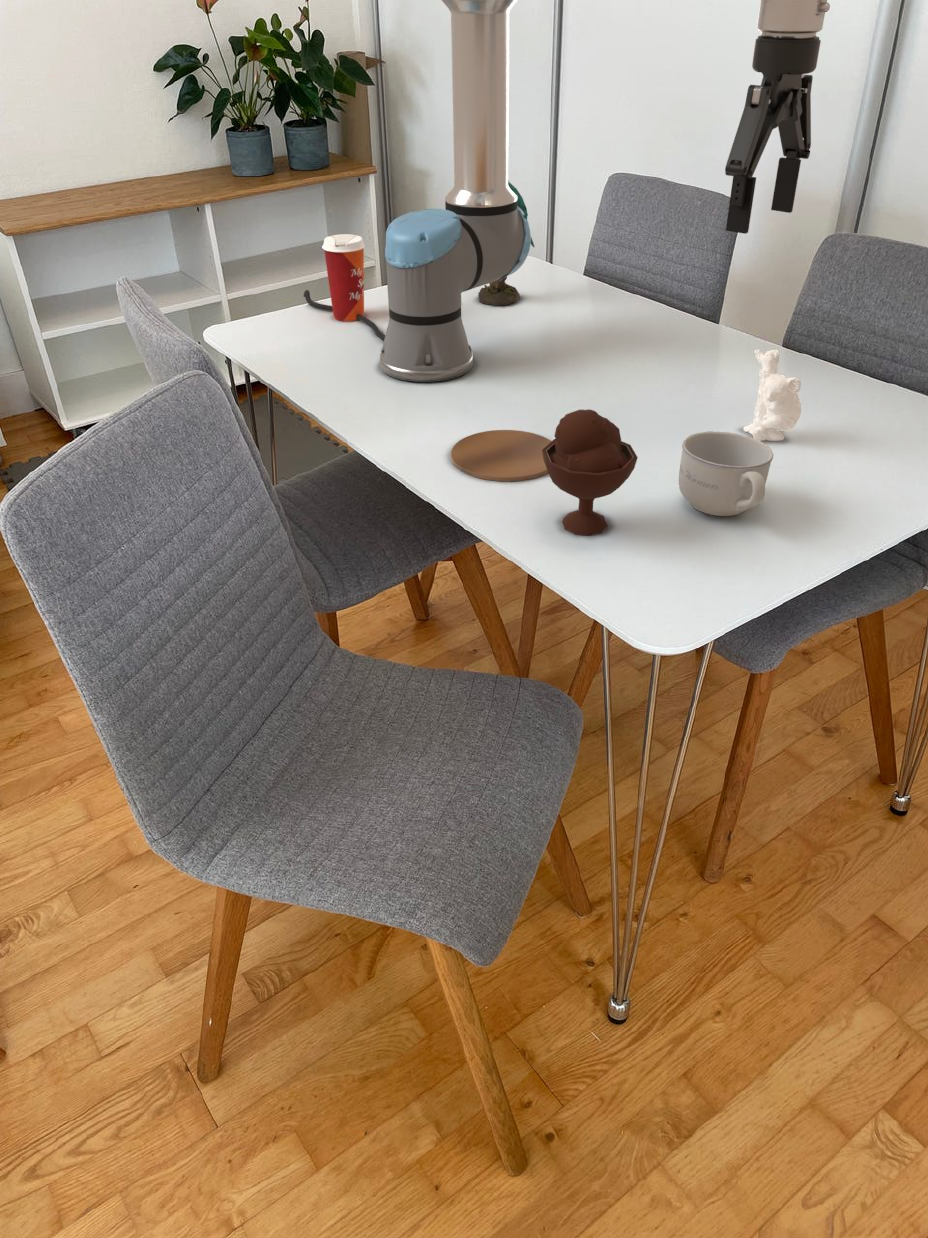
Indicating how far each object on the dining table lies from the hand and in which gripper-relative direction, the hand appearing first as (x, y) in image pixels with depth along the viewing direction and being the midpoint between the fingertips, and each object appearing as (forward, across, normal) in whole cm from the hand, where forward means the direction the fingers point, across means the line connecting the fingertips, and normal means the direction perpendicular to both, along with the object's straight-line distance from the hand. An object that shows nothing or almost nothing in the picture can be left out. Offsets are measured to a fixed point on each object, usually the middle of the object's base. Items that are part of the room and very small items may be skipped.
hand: (759, 221), depth 132 cm
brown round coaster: (+28, -30, +19) cm, 45 cm away
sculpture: (+28, +25, +62) cm, 72 cm away
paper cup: (+28, 0, +77) cm, 82 cm away
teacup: (+28, -26, -12) cm, 40 cm away
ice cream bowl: (+28, -39, 0) cm, 48 cm away
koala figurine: (+28, -2, -7) cm, 29 cm away
